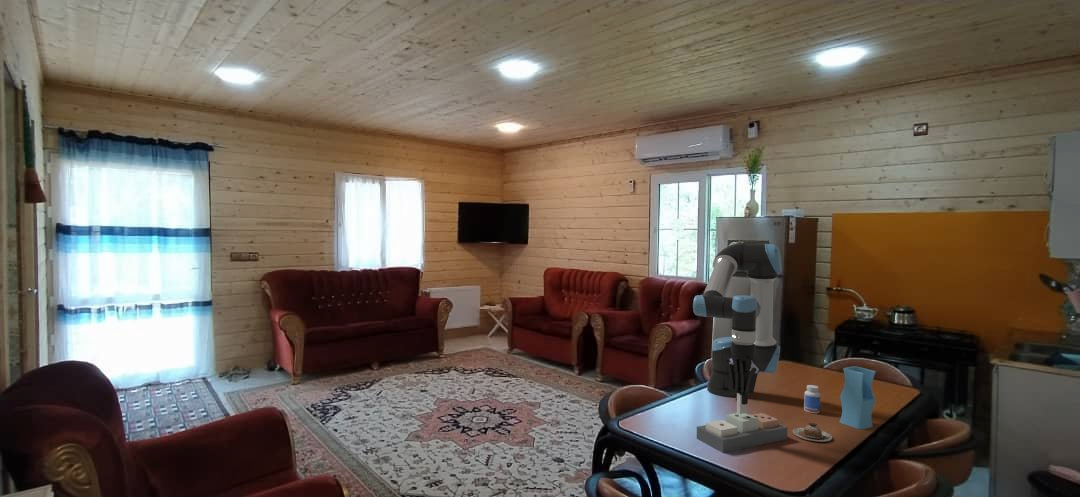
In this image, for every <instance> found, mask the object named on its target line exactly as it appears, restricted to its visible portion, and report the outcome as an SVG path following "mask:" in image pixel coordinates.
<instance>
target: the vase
mask: <svg viewBox="0 0 1080 497" xmlns="http://www.w3.org/2000/svg"><path fill="white" fill-rule="evenodd" d="M842 369H843V374H844V375H843V376H844V385H843V388H842V391H841V394H840V396H839V399H840V402H841V410H842V411H841V416H840V420H839V423H840V424H843V425H846V426H849V427H851V428H854V429H856V430H857V429H858V430H865V429H870V428H873V421H872V420H873V419H872V416H873V415H872V414H873V410H874V406H875V403H876V396H875V394H874V391H873V381H874V378H875V375H876V373H877V371H876V370H872V369H868V368H865V367H860V366H847V367H843V368H842Z"/></svg>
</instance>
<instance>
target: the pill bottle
mask: <svg viewBox="0 0 1080 497" xmlns="http://www.w3.org/2000/svg"><path fill="white" fill-rule="evenodd" d="M803 398H804V399H803V400H804V403H803V410H804V412H806V413H809V414H819V413H820V411H821V409H820V408H821V393H820V392H819V386H818V385H813V384H807V385H806V390H805V391H804V397H803Z"/></svg>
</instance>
